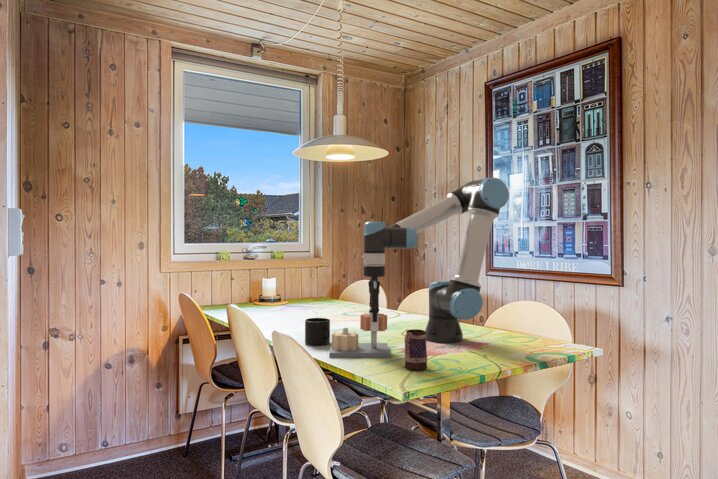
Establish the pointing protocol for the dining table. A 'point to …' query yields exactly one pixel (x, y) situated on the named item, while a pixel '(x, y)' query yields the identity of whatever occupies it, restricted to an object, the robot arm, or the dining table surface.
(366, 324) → the gear
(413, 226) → the robot arm
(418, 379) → the dining table surface
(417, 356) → the mug
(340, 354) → the gear board
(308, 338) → the mug
